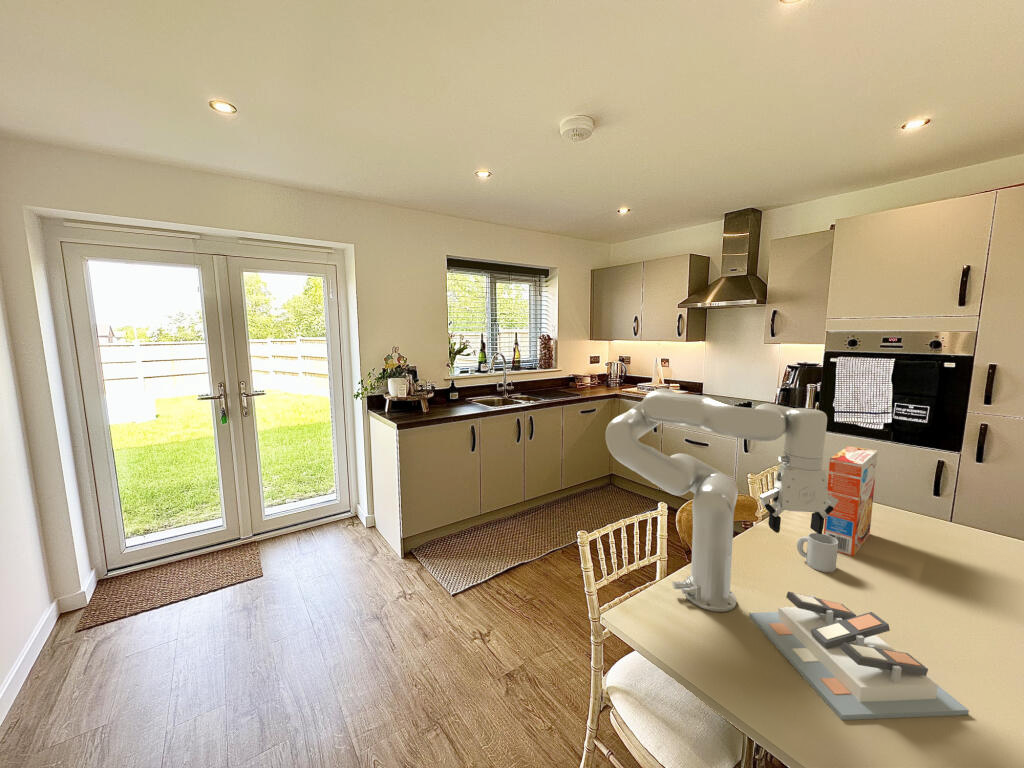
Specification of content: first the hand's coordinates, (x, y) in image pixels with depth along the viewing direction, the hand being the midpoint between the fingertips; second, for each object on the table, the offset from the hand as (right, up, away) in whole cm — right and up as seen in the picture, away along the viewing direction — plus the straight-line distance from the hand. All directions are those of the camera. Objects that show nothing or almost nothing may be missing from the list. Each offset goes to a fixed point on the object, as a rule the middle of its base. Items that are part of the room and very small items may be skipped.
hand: (795, 530), depth 99 cm
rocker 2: (+5, -18, -10) cm, 21 cm away
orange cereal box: (+47, -18, +42) cm, 65 cm away
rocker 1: (+5, -17, -2) cm, 18 cm away
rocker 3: (+5, -19, -18) cm, 26 cm away
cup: (+25, -20, +28) cm, 42 cm away
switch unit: (+5, -25, -9) cm, 27 cm away
